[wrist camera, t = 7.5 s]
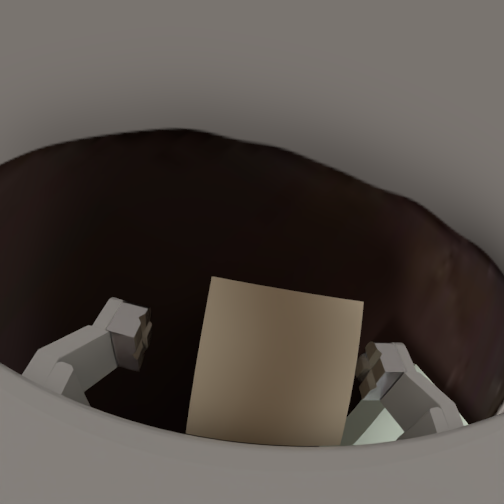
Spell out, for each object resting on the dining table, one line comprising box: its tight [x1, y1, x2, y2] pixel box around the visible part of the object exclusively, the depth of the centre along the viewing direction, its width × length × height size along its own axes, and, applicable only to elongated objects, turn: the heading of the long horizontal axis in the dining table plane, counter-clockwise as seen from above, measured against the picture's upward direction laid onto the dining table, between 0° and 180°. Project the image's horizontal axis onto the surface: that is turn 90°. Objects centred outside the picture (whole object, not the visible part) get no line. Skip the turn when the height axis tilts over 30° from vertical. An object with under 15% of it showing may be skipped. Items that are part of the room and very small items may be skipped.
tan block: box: [186, 276, 364, 446], centre depth 10 cm, size 4×4×8 cm
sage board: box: [319, 364, 469, 447], centre depth 11 cm, size 14×14×3 cm
